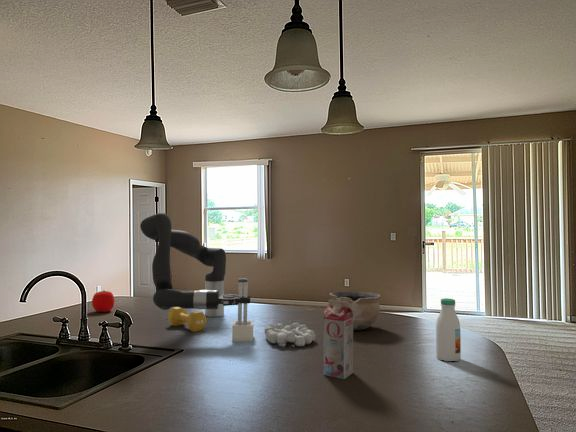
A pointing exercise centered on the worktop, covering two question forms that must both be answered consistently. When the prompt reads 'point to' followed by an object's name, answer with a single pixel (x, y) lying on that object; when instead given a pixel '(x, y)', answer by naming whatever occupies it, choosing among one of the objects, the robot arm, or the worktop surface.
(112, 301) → the tomato
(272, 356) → the worktop surface
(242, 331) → the open box
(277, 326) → the campfire
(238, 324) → the grey long square block
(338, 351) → the juice carton
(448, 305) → the milk bottle
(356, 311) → the ceramic bowl
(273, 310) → the worktop surface
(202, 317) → the dumbbell
